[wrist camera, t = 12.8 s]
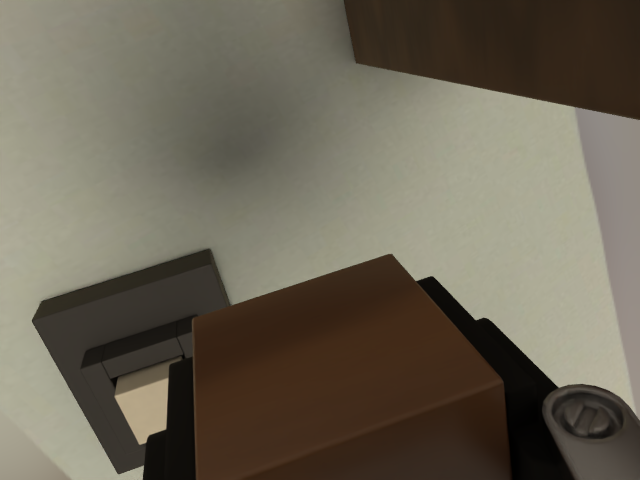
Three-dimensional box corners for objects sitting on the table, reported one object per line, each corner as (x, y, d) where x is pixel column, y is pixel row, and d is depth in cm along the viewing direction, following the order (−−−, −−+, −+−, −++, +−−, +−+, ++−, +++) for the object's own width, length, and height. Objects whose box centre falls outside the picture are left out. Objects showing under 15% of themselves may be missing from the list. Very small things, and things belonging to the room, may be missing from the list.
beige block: (117, 376, 29) (113, 396, 27) (181, 354, 29) (180, 373, 28) (141, 424, 30) (139, 445, 29) (201, 402, 31) (202, 423, 29)
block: (190, 317, 11) (194, 494, 7) (391, 251, 11) (505, 379, 7) (251, 465, 13) (282, 671, 9) (420, 403, 13) (523, 571, 9)
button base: (40, 301, 30) (21, 339, 26) (209, 248, 31) (213, 277, 27) (121, 450, 35) (114, 498, 31) (264, 399, 36) (273, 440, 32)
